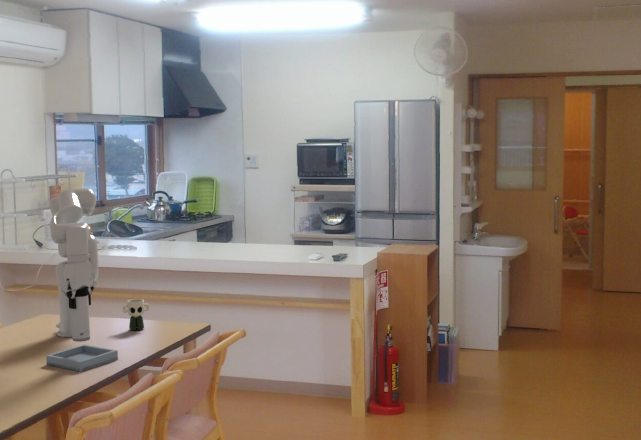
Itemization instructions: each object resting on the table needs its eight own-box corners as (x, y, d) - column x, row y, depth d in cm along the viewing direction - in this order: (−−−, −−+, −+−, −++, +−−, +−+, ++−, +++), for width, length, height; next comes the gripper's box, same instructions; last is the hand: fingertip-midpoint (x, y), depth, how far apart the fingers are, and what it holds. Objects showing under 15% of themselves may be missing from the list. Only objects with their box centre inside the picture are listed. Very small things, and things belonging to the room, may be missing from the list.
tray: (46, 364, 284) (46, 355, 284) (84, 353, 300) (84, 344, 299) (80, 371, 275) (79, 362, 275) (117, 359, 290) (117, 350, 290)
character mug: (124, 332, 332) (123, 302, 331) (123, 328, 339) (122, 299, 338) (150, 330, 335) (148, 301, 334) (149, 326, 342) (147, 297, 341)
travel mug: (85, 342, 283) (83, 288, 281) (69, 341, 284) (66, 287, 282) (94, 338, 289) (91, 285, 287) (77, 337, 290) (75, 284, 288)
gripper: (89, 255, 293) (91, 301, 295) (51, 261, 278) (54, 310, 280) (103, 256, 289) (105, 303, 291) (65, 262, 274) (68, 312, 276)
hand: (80, 306), depth 285 cm, fingers closed on travel mug, 6 cm apart
